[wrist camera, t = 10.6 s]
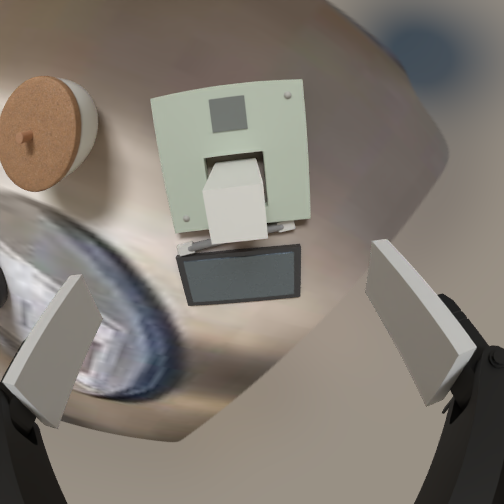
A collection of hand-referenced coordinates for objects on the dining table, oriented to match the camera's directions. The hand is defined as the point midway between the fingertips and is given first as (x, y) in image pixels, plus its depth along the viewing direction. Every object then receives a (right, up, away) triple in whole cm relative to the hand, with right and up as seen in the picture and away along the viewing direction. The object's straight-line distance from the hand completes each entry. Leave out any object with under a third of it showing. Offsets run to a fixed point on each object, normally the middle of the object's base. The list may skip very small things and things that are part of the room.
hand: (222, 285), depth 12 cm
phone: (0, -1, +22) cm, 22 cm away
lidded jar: (-18, +15, +12) cm, 27 cm away
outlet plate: (-1, +11, +15) cm, 18 cm away
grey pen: (-1, +3, +19) cm, 19 cm away
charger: (0, +9, +16) cm, 18 cm away
